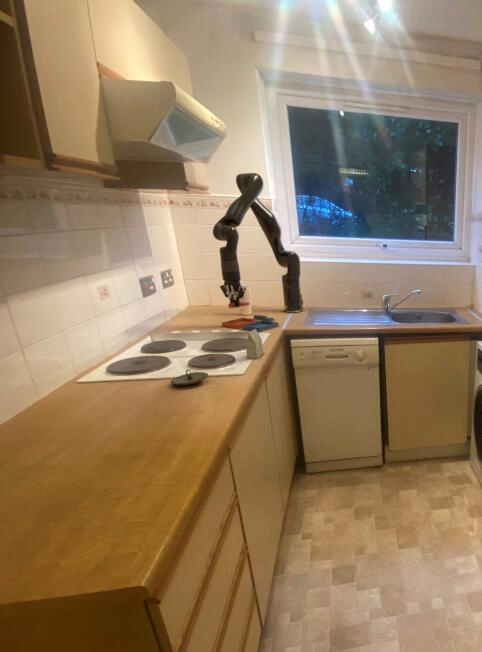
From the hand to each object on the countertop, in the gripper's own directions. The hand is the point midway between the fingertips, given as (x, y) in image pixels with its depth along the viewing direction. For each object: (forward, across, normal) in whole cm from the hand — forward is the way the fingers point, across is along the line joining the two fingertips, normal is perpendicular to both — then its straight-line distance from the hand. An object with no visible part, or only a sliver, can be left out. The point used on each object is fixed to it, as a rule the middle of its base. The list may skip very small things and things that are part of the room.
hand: (235, 306), depth 209 cm
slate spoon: (+9, -1, -16) cm, 19 cm away
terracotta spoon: (0, 0, -2) cm, 2 cm away
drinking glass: (+9, +15, -22) cm, 28 cm away
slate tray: (+9, -12, -2) cm, 15 cm away
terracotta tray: (+9, 0, -2) cm, 9 cm away
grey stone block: (+10, -41, +36) cm, 55 cm away
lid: (+10, -44, +68) cm, 81 cm away
